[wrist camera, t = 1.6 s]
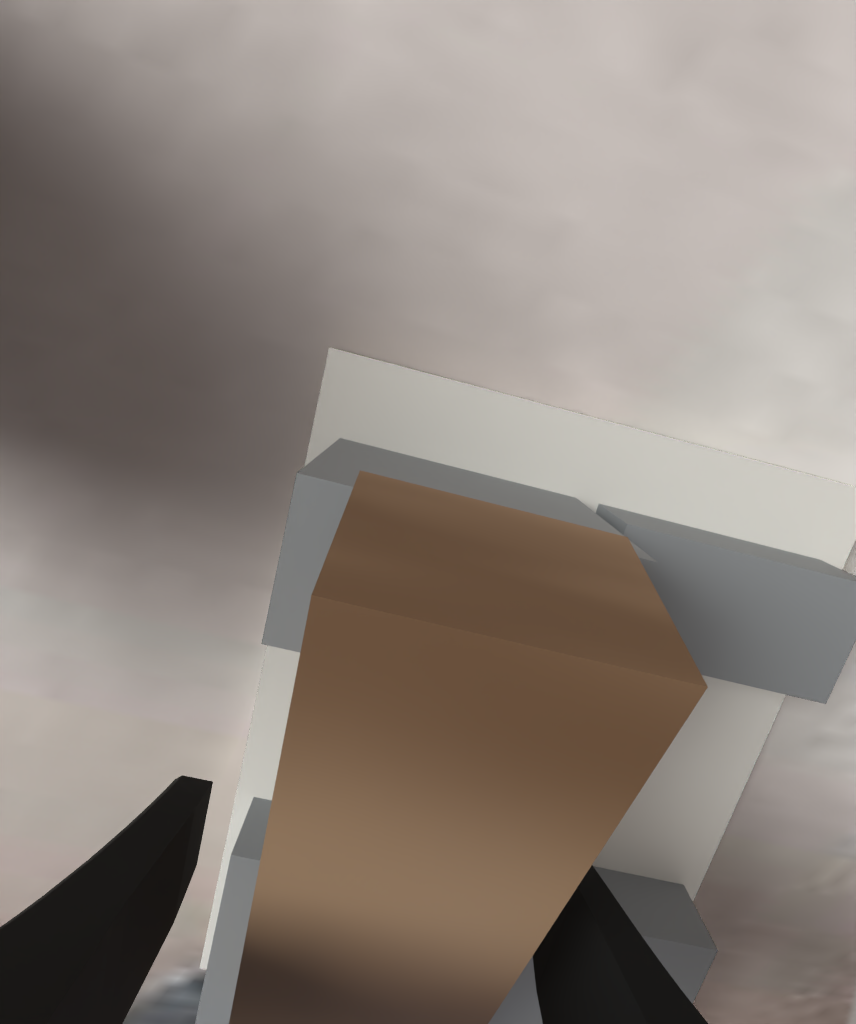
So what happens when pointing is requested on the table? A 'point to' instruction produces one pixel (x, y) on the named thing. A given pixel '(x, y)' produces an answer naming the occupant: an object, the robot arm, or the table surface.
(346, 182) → the table surface
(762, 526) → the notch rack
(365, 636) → the walnut bar
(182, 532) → the table surface
